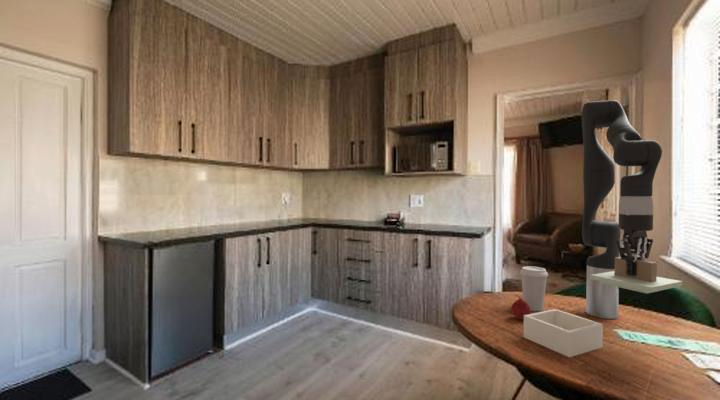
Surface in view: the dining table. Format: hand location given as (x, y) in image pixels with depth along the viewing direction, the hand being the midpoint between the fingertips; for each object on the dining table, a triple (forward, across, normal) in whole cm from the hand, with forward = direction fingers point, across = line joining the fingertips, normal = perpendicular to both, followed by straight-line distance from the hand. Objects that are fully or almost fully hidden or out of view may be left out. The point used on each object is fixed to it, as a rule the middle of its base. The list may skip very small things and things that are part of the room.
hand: (634, 274), depth 97 cm
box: (+20, +16, -10) cm, 28 cm away
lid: (+3, 0, 0) cm, 3 cm away
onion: (+21, +11, -28) cm, 36 cm away
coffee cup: (+21, -4, -35) cm, 41 cm away
